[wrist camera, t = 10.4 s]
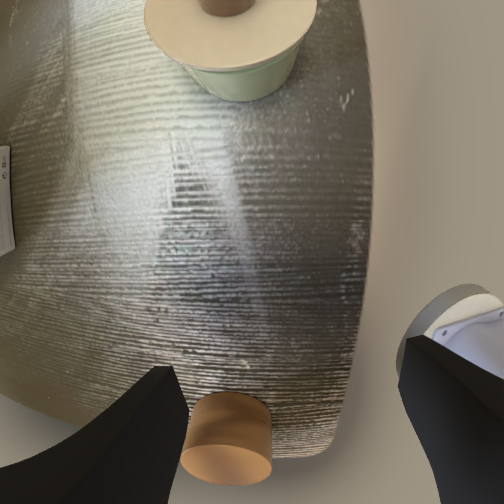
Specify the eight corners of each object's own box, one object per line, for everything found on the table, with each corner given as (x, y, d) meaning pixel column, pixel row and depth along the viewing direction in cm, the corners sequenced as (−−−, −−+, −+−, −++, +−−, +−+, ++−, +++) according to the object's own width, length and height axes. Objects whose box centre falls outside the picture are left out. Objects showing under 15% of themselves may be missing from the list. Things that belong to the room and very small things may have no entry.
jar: (285, 9, 13) (293, -51, 7) (302, 95, 15) (325, 58, 9) (185, 24, 14) (151, -28, 7) (196, 110, 15) (158, 83, 9)
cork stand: (266, 388, 21) (266, 443, 16) (275, 437, 23) (275, 484, 18) (183, 392, 22) (167, 442, 16) (203, 439, 24) (194, 484, 18)
